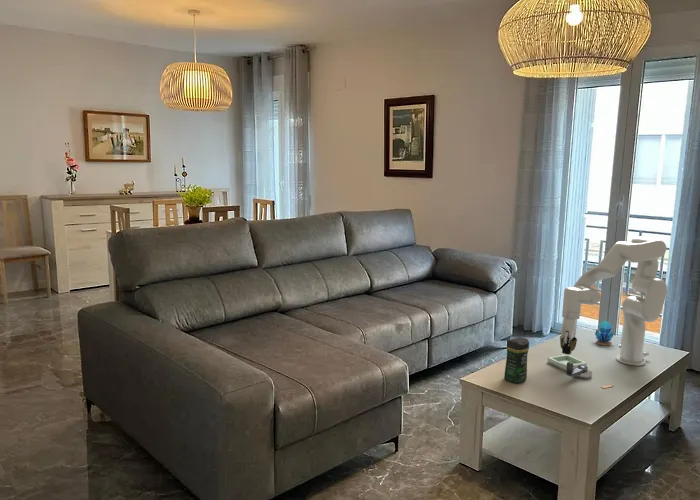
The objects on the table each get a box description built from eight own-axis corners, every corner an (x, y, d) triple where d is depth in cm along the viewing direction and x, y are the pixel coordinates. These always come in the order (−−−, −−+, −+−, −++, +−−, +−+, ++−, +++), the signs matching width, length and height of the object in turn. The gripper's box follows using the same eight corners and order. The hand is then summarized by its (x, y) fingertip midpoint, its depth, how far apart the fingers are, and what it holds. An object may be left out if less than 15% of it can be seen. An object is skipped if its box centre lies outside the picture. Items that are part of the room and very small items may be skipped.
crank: (580, 368, 242) (581, 355, 242) (589, 370, 239) (590, 358, 238) (563, 375, 234) (564, 362, 233) (571, 378, 231) (572, 365, 230)
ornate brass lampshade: (577, 357, 247) (578, 340, 246) (560, 355, 248) (561, 339, 247) (573, 351, 254) (575, 335, 253) (557, 350, 256) (558, 334, 254)
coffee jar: (517, 385, 228) (520, 343, 225) (501, 379, 234) (503, 338, 231) (530, 379, 234) (532, 338, 232) (514, 374, 240) (516, 334, 238)
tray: (566, 359, 260) (567, 354, 260) (586, 368, 249) (587, 362, 249) (547, 362, 255) (547, 357, 255) (566, 371, 244) (567, 366, 244)
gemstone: (594, 340, 289) (596, 318, 287) (612, 342, 286) (614, 320, 284) (594, 344, 282) (596, 322, 280) (612, 346, 279) (615, 324, 277)
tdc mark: (610, 385, 229) (610, 385, 229) (612, 386, 228) (612, 386, 228) (601, 387, 227) (601, 386, 227) (604, 388, 226) (604, 387, 226)
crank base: (568, 373, 242) (568, 369, 242) (581, 371, 245) (582, 366, 245) (582, 380, 235) (582, 375, 235) (595, 377, 238) (596, 373, 238)
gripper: (566, 308, 257) (563, 345, 260) (557, 316, 243) (554, 354, 246) (583, 311, 253) (580, 348, 256) (575, 319, 239) (572, 358, 242)
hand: (567, 351), depth 251 cm, fingers closed on ornate brass lampshade, 6 cm apart
